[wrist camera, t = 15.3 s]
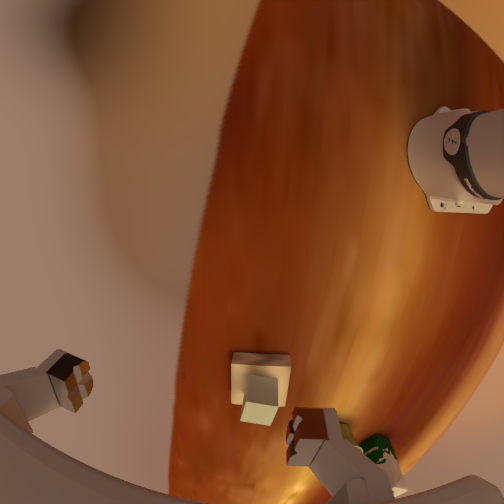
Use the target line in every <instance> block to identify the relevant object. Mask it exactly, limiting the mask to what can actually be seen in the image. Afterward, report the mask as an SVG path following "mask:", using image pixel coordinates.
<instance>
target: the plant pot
mask: <svg viewBox="0 0 504 504" xmlns="http://www.w3.org/2000/svg"><path fill="white" fill-rule="evenodd" d="M339 424H340V428H341V432H342V436H343V440H348V441H349V442H350V443H351V444H353V445H354V446H355V447H356V448H357V449H358V450H360V451H361V452H362V453H363V449H362V448H361V447H360V446H359V445H358V444H357V443H356V441H355V439H354V437H353V435H352V433H351V430H350V428H349V426H348V425H347V424H345V423H344V424H341V423H339Z"/></svg>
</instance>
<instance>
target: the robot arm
mask: <svg viewBox="0 0 504 504" xmlns="http://www.w3.org/2000/svg"><path fill="white" fill-rule="evenodd" d="M408 160H409V165H410V168H411V171H412V174H413V176H414V178H415V180H416V182H417V183H418V185H419V186H420V187H421V189H422V190H423V191H424V193H425V195H426V198H427V201H428V204H429V207H430V209H431V210H432V211H434V212H458V213H480V214H487V213H488V212H489V211H490V209H491V207H492V205H499V204H500V203H501V201H502V199H504V108H503V109H500V110H496V111H493V112H488V111H473V112H471V111H470V110H469V109H457V110H450V109H449V108H447V107H445V106H444V107H440V108H438V109H437V111H436V112H435V113H434V114H433V115H431V116H429V117H426V118H423V119H421V120H420V121H419V122H418V123H417V124H416V125H415V126H414V128H413V129H412V131H411V134H410V137H409V141H408ZM441 203H442V206H440V204H441ZM89 369H90V367H89V363H88V362H87V361H85V360H83V359H80V358H78V357H76V356H74V355H72V354H69V353H67V352H64V351H62V350H60V349H59V350H56V351H55V352H53V353H52V354H51V355H50V356H49V357H48V358H47V359H46V360H45V361H44V362H43V363H42V364H40V365H39V366H38V367H37V368H36V367H32V368H28V369H24V370H20V371H16V372H11V373H8V374H3V375H0V504H208V503H203V502H198V501H193V500H188V499H184V498H180V497H176V496H172V495H168V494H164V493H161V492H157V491H153V490H151V489H147V488H144V487H141V486H138V485H135V484H132V483H129V482H127V481H124V480H121V479H119V478H116V477H114V476H111V475H109V474H106V473H104V472H102V471H100V470H97V469H95V468H93V467H91V466H88V465H86V464H84V463H82V462H80V461H78V460H76V459H74V458H72V457H70V456H69V455H67V454H65V453H63V452H61V451H59V450H58V449H56V448H54V447H52V446H51V445H49V444H48V443H46V442H44V441H42V440H41V439H39V438H38V437H36V436H35V435H33V434H32V433H33V430H32V428H31V427H30V425H29V423H28V421H30V420H33V419H35V418H37V417H39V416H42V415H43V414H46V413H48V412H50V411H52V410H54V409H57V408H58V407H60V406H61V407H64V408H65V409H67V410H70V411H72V412H74V413H76V412H77V411H78V409H79V408H80V407H81V405H82V404H83V398H86V397H88V396H89V395H90V393H91V391H92V388H93V379H92V376H91V375H90V374H89V372H88V371H89ZM286 443H287V444H288V446H289V447H288V449H287V452H286V455H287V465H291V466H309V468H310V469H311V470H312V472H313V473H314V474H315V476H316V477H317V478H318V479H319V481H320V482H321V483H322V484H323V486H324V487H325V488H326V489H327V490H328V492H329V493H330V494H331V495H332V498H331V499H330V500H329V501H328V502H327V503H326V504H504V497H503V495H502V494H501V491H500V490H499V489H498V488H497V487H496V486H495V485H493V484H491V483H489V482H488V481H486V480H484V479H482V478H480V477H478V476H476V475H469V476H466V477H463V478H461V479H458V480H456V481H453V482H451V483H448V484H445V485H442V486H440V487H437V488H434V489H431V490H427V491H424V492H421V493H417V494H414V495H410V496H407V497H402V498H398V499H395V497H394V494H393V490H392V487H391V484H390V480H389V477H388V474H387V473H386V472H385V471H384V470H382V469H381V468H380V467H379V466H377V465H376V464H375V463H374V462H373V461H371V460H370V459H369V458H368V457H367V456H365V455H364V454H363V453H362V452H361V451H360V450H358V449H357V448H356V447H355V446H354V445H353V444H351V443H350V442H349V441H348V440H343V436H342V432H341V428H340V424H339V420H338V416H337V412H336V410H335V408H307V407H295V408H294V410H293V412H292V420H290V421H289V423H288V426H287V431H286Z"/></svg>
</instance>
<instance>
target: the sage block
mask: <svg viewBox="0 0 504 504" xmlns="http://www.w3.org/2000/svg"><path fill="white" fill-rule="evenodd" d="M277 409H278V379H276V378H270V377H264V376H259V375H253V374H249V377H248V381H247V385H246V388H245V392H244V397H243V404H242V412H241V419H240V421H244V422H250V423H256V424H263V425H269V426H270V425H271V423H272V421H273V418H274V416H275V414H276V411H277Z"/></svg>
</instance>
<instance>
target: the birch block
mask: <svg viewBox="0 0 504 504" xmlns="http://www.w3.org/2000/svg"><path fill="white" fill-rule="evenodd" d="M290 370H291V362H290V355H277V354H255V353H240V352H233V357H232V362H231V400H232V404H243V397H244V392H245V388H246V385H247V381H248V377H249V374H253V375H259V376H264V377H270V378H276V379H278V406H285V403H286V397H287V391H288V384H289V377H290Z"/></svg>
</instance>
